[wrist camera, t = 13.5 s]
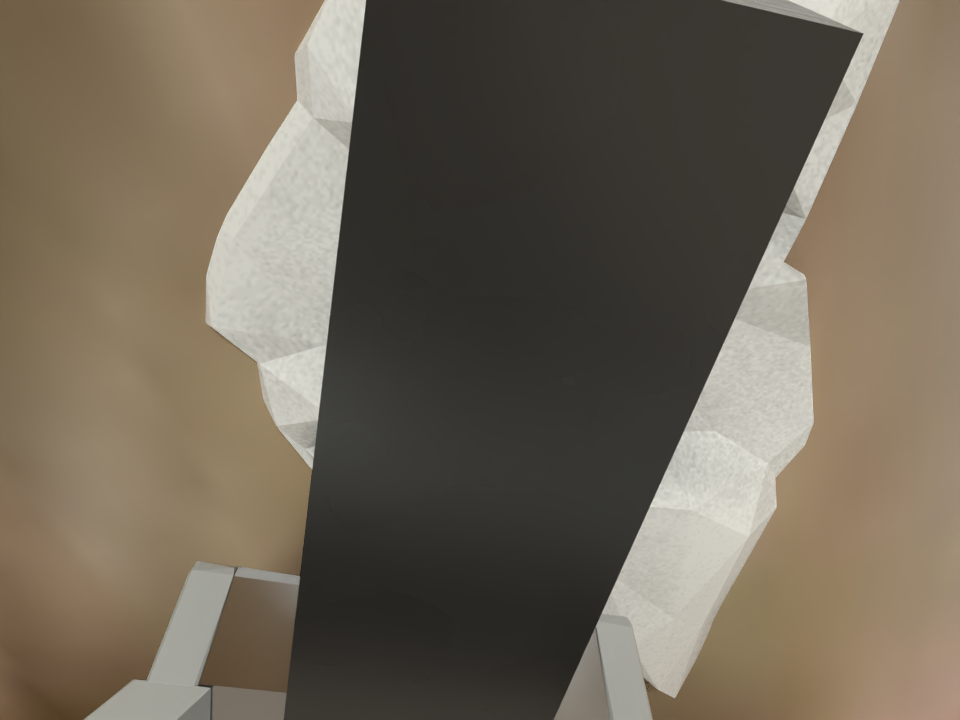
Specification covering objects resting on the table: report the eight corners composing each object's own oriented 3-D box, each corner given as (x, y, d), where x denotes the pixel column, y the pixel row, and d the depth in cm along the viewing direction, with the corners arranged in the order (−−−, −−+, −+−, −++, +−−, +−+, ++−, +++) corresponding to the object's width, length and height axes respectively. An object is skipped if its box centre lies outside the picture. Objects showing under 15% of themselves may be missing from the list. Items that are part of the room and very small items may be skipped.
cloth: (254, -1079, 7) (167, -1461, 5) (1516, -541, 8) (1821, -658, 7) (190, 687, 20) (162, 772, 19) (671, 744, 22) (690, 827, 20)
